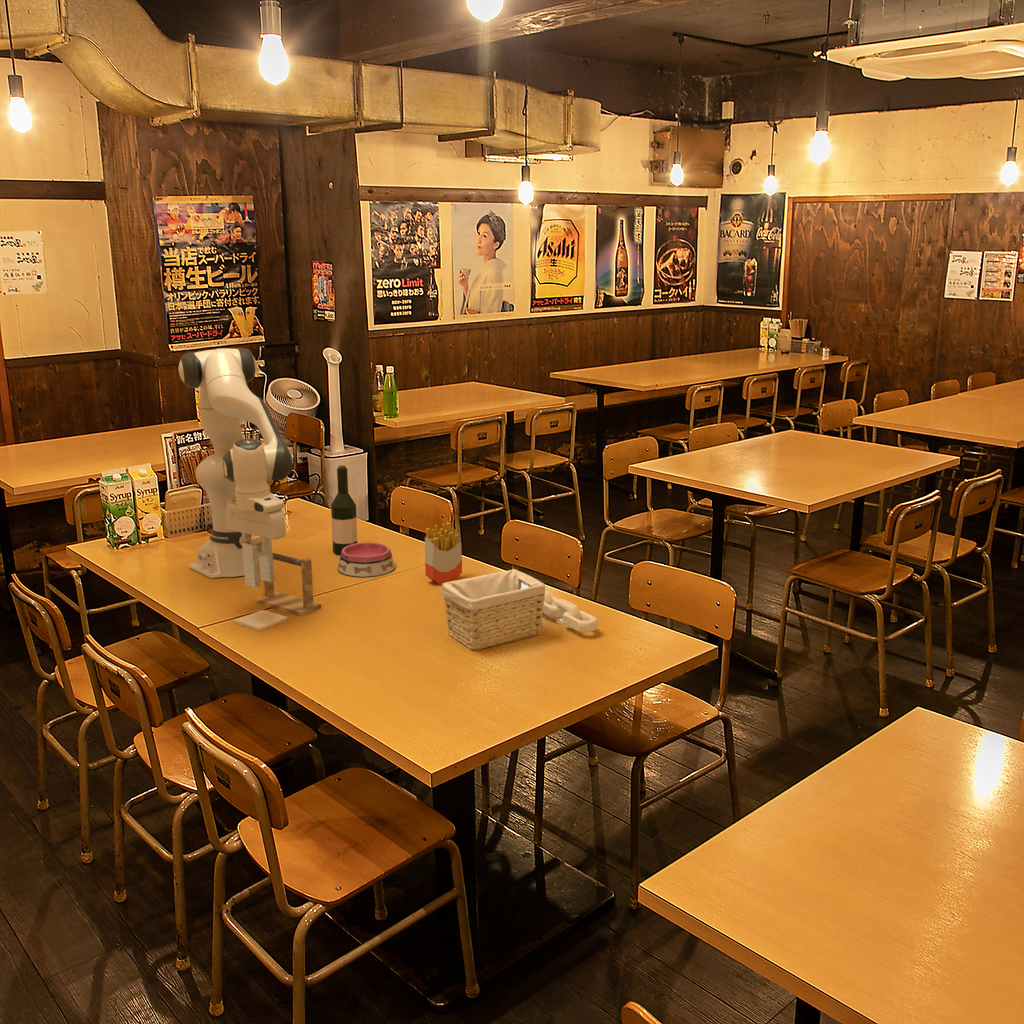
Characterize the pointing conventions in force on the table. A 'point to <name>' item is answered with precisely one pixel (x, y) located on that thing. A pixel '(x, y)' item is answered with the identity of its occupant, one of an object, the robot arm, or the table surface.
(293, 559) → the rail stand
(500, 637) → the storage basket
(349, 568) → the dog bowl
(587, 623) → the chain
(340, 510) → the wine bottle
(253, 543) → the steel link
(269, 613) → the ceramic tile
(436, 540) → the french fries container
